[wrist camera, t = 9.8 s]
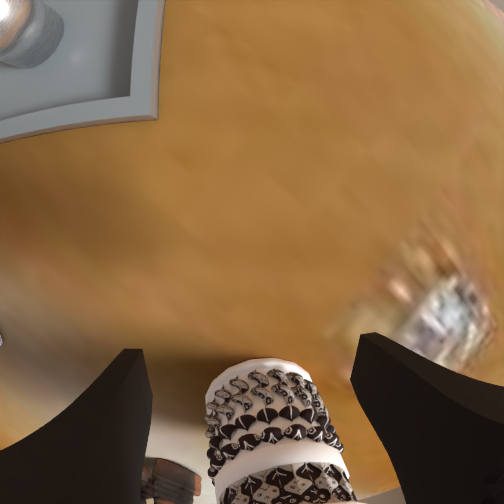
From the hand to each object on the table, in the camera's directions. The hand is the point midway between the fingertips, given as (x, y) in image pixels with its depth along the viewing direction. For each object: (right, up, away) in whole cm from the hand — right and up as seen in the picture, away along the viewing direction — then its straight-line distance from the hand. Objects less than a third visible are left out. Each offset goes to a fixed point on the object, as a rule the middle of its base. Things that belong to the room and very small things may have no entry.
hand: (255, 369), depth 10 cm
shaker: (-13, +16, +2) cm, 21 cm away
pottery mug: (-10, -18, +15) cm, 26 cm away
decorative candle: (+1, -7, +13) cm, 15 cm away
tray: (-13, +17, +3) cm, 21 cm away
